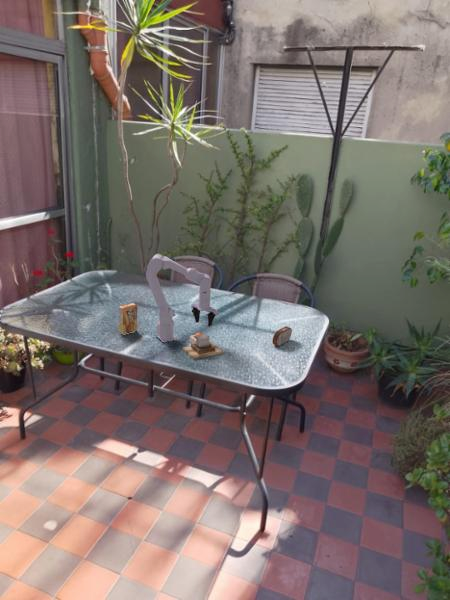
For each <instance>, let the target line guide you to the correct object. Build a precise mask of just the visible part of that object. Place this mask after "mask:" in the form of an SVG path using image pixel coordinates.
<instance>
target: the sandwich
mask: <svg viewBox="0 0 450 600" xmlns="http://www.w3.org/2000/svg"><path fill="white" fill-rule="evenodd" d="M292 332H293V329H292V328H291V327H289V326H287V325H286V326H284V327H281V328H279V329H278V330H277V331H275V333H274V334H273V337H272V344H273V346H277V347H281V346H282V345H284V344H286V343H287V342H288V341H289V340H290V338H292V337H291V336H292Z"/></svg>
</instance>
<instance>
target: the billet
mask: <svg viewBox="0 0 450 600" xmlns="http://www.w3.org/2000/svg"><path fill="white" fill-rule="evenodd" d="M202 334H203V333H202ZM209 342H210V336H209V335H207V333H206V334H205V333H204V334H203V335H198V336H196V347H197V348H199V349H204V348H209Z"/></svg>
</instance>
